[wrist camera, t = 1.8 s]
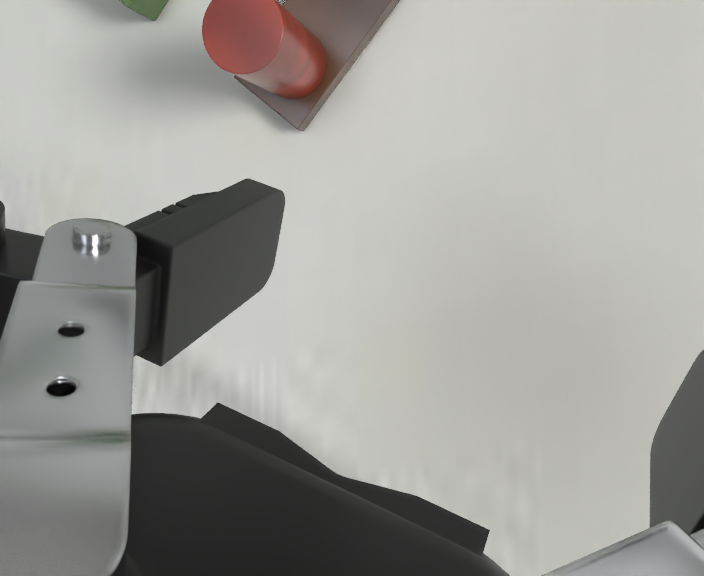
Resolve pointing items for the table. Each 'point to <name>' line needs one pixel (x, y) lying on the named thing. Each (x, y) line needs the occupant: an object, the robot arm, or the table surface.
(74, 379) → the robot arm
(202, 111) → the table surface
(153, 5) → the green peg on base
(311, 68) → the rod stand
